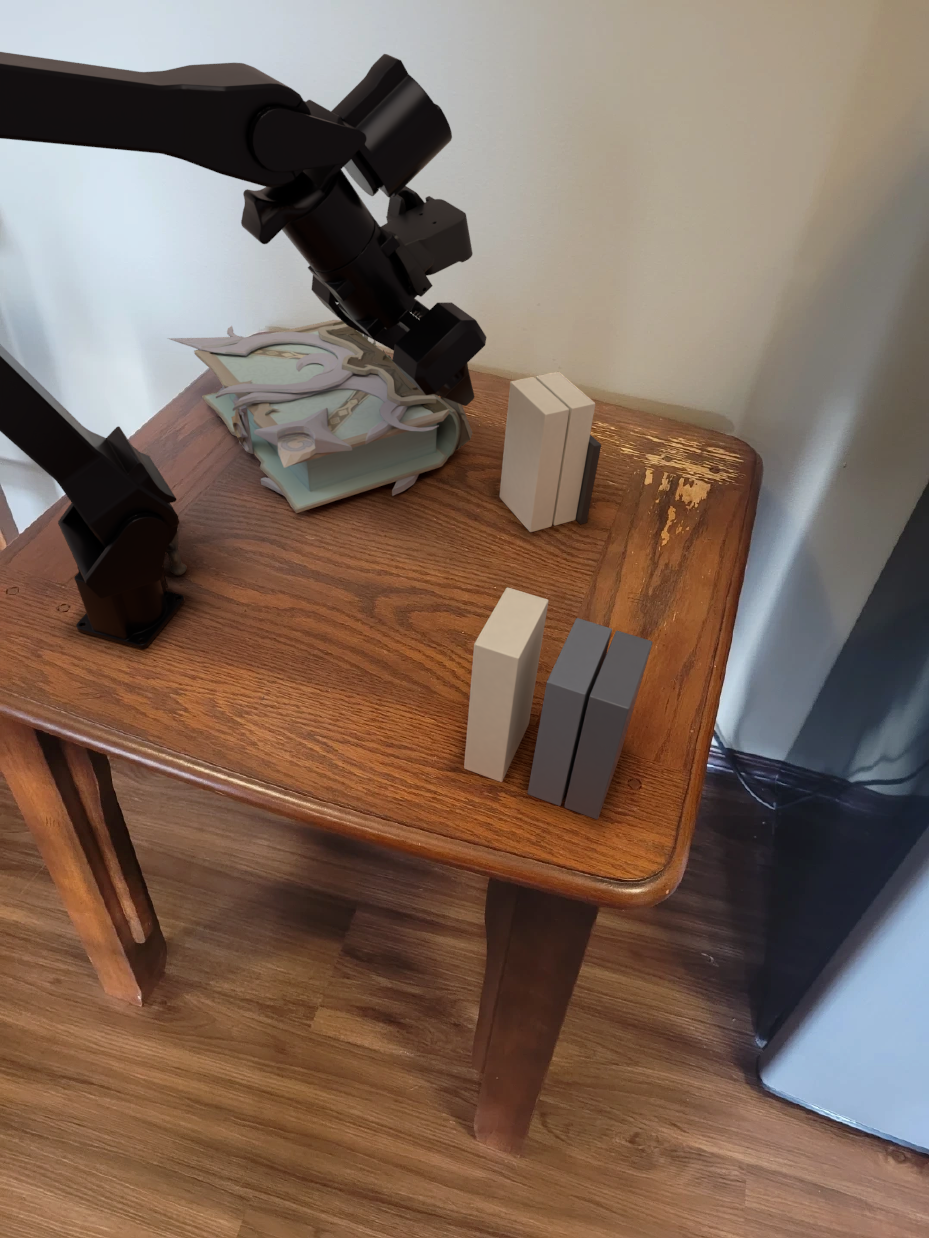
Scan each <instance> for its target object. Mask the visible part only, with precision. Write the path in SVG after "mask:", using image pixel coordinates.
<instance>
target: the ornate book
mask: <svg viewBox="0 0 929 1238" xmlns="http://www.w3.org/2000/svg"><path fill="white" fill-rule="evenodd" d="M226 334H227V335H228V336H217V337H171V338H169V337H168V338H166V339H167V340H170V341H172V342H175V343H178V344H181V345H185V346H187V347H190V348H194V349H195V350H193V353H194V356H196V357H197V358H198V359H199V360H200V361H201V362H202V363H203V364H204V365H205V366H207V368H209V370H211V371H212V373H213V374H214V375H215V377H216V378H217V379H218V381H219V382H220V384H221V385H222V386H221V387H220V388H219V389H218V391H216V392H212V393H208V394H203V395H202V396H201V397H202V398H201V399H202V400H203V401H204V402H205V403H206V404H207V405H208V406H209V407H210V408H211V409H212V410H213V411H214V412H215V413H216V414H217V415H218V417H220V418H221V419H222V422H223V423H224V424H225V426H226V428H227V429H228V430H229V432H230V434H231V435H232V436H235V437H237V440H238V443H239V444H240V445H241V447H242V449H244V451H246V453H249V454H251V455H254V456H255V457H256V458H257V460H258V461H259V462H260V465H259V469H260V470H261V472H262V473H264V474H265V475H266V476H267V477H265V476H264V477H262V478H260V485H261V486H263V487H265V488H269V489H270V490H271V491H275V492H276V493H278V494H280V495H281V496H283V497H285V499H286V500H287V502H288V503H289V505H290V507H291V508H292V510H293V511H294V512H295V514H298V513H301V512H304V511H308V510H310V509H314V508H316V507H320V506H323V505H326V504H329V503H333V502H335V501H339V500H341V499H345V498H348V497H351V496H354V495H358V494H360V493H364V492H367V491H370V490H373V489H376V488H379V487H381V486H385V485H386V486H387V485H388V484H392V483H394V482H395V484H394V486H393V488H392V489H391V496H392V497H393V496H395V495H398V494H400V493H403V492H405V491H406V490H407V489H409V488H410V487H412V486H414V485H415V483H416V481H417V479H418V477H419V475H420V474H423V473H425V472H429V471H432V470H435V469H438V468H441V467H443V466H444V465H445V463H446V462H447V461H448V459H449V458H450V456H453V454H454V453H455V452H456V451H458V450H459V449H461V447H464V446H465V445H466V444H467V443H469V441H471V439H472V436H473V429H472V428H471V425H470V422H469V419H468V417H467V414H466V411H465V409H464V406H463V405H461V404H458V403H456V402H453V401H451V400H448V399H446V398H443V397H440V396H438V395H435V394H431V395H427V396H426V395H425V394H424V393H423V392H422V391H421V390H420V389H418V388H417V387H416V386H415V385H414V384H413V383H412V382H410V381H409V380H408V379H407V378H406V376H405V375H404V374H403V373H402V372H401V371H400V370H399V369H398V367H397V366H396V365H395V364H394V362H393V361H392V360H393V358H392V357H391V355H389V354H386V352H385V349H383V350H382V349H381V348H380V347H378V346H377V343H376V342H377V341H375V340H373V341H372V342H371V341H369V337H368V336H366V335H364V334H362V333H360V332H358V331H357V330H355V329H353V328H351V327H349V326H348V325H346V324H345V323H344V322H343V321H342V320H341V319H331V320H327V321H322V322H321V321H320V322H317V323H313V324H308V325H303V326H299V327H294V328H290V329H286V330H285V329H284V330H279V331H275V332H270V333H263V334H257V335H252V336H251V335H250V336H245V337H244V336H240V335H237V334H235V332H234V328H233V325H231V326H229V327H228V328H227V330H226Z"/></svg>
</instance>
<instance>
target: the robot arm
mask: <svg viewBox="0 0 929 1238" xmlns="http://www.w3.org/2000/svg"><path fill="white" fill-rule="evenodd" d="M0 139H2V140H14V141H22V142H23V141H24V142H35V143H45V144H55V145H67V146H76V147H88V148H98V149H109V150H119V151H129V152H141V153H149V154H159V155H160V154H161V155H164V156H169V157H172V158H176V159H179V160H181V161H185V162H187V163H190V164H193V165H196V166H198V167H201V168H204V169H206V170H208V171H212V172H215V173H217V174H220V175H223V176H227V177H230V178H234V179H237V180H241V181H244V182H248V183H251V184H255V185H258V186H262V187H263V188H261V189H258V190H252V189H244V191H243V193H242V194H243V199H244V206H243V209H242V213H241V214H242V215H241V220H240V223H241V227H242V228H243V229H244V230H245V231H247V232H248V233H249V234H250V235H251V236H252V237H253V238H254V239H255V240H257V241H258V242H259V243H261V244H262V245H268V244H269V243H270V242H271V241H272V240H273V239H274V238H275V237H276V236H277V235H278V234H279V233H280V232H283V234H285V236H286V237H287V238H288V239H289V241H290V242H291V244H292V245H293V246H294V247H295V248H296V250H297V251H298V252H299V254H300V255H301V257H303V259H304V260H305V261H306V263H308V265H309V266H308V267H307V269H308V270H309V271H310V273H311V274H312V280H311V291H312V292H313V294H314V295H315V296H316V297H317V298H318V299H319V301H320V302H321V303H322V304H323V306H325V308H327V309H328V310H329V311H331V313H332V314H333V315H334V316H336V317H337V318H338V320H342V321H343V322H344V323H345V324H346V325H348V326H349V327H351V328H353V329H355V330H356V331H358V332H360V333H362V334H364V335H366V336H368V338H369V339H371V340H373V341H374V340H375V341H376V342H377V343H379V344H381V345H382V346H384V347H386V348H388V349H390V350H392V351H393V354H392V361H393V362H394V364H395V365H396V366H397V367H398V369H399V370H400V371H401V372H402V373H403V374H404V375H405V376H406V378H407V379H408V380H409V381H410V382H412V383H413V384H414V385H415V386H416V387H417V388H418V389H420V390H421V391H422V392H423V393H424V394H425V395H426V396H427V395H431V394H435V395H438V396H439V397H443V398H446V399H448V400H451V401H453V402H456V403H458V404H461V405H462V406H463V407H466V406H468V405H469V404H470V403H471V402H473V400H475V393H474V388H473V383H472V379H471V374H470V370H469V364H468V363H469V362H470V361H471V360H472V359H473V358H474V357H475V356H476V355H477V354H478V353H479V352H480V351H481V350H482V349H483V348H484V347H485V346H486V343H487V336H486V334H485V332H484V330H483V329H482V327H481V326H480V324H479V322H478V321H477V319H476V318H474V317H472V316H471V315H470V314H468V313H467V312H466V311H464V310H463V309H462V308H461V307H459V306H457V304H455V303H453V302H436V303H435V304H434V305H433V306H432V307H431V308H430V309H429V308H428V307H427V306H426V305H425V304H423V303H422V302H420V301H419V300H418V299H416V298H417V297H419V298H421V297H423V296H424V295H425V294H426V293H427V292H428V291H429V290H430V289H431V288H432V287H433V284H432V282H431V281H430V279H429V277H428V276H432V275H435V274H437V273H439V272H441V271H443V270H445V269H447V268H449V267H451V266H453V265H455V264H457V263H459V262H460V263H465V262H466V261H468V260H469V259H471V258H472V256H473V248H472V242H471V237H470V230H469V223H468V218H467V214H466V212H464V211H463V210H462V209H460V208H458V207H457V206H455V205H453V204H452V203H449V202H448V201H446V200H445V199H441V198H433V196H431V195H428V196H425V198H424V199H425V201H424V200H423V199H422V197H421V196H420V195H419V194H418V193H417V192H416V191H415V190H413V189H412V188H411V187H409V186H407V185H408V184H409V183H410V182H411V181H412V180H413V179H414V178H415V177H416V176H417V175H418V174H419V173H420V172H421V171H423V169H424V168H425V167H426V166H427V165H428V164H429V163H430V162H431V161H433V159H434V158H435V157H437V155H439V154H440V152H442V151H443V149H444V148H445V147H447V145H448V144H449V143H451V141H452V140H453V133H452V129H451V126H450V123H449V121H448V119H447V117H446V115H445V113H444V110H443V109H442V108H441V106H439V105H438V104H437V103H435V102H434V101H433V99H432V98H431V97H430V95H429V94H428V93H427V91H426V90H425V89H424V88H423V87H422V86H421V84H419V83H418V81H417V80H416V79H415V78H414V77H412V76H411V75H410V74H409V72H408V70H407V69H406V67H405V65H404V62H403V61H402V60H401V59H399V58H397V57H394V56H393V55H390V54H387V53H383V54H382V55H381V56H380V57H379V58H378V59H377V60H376V61H375V62H374V63H373V64H372V66H371V67H370V69H368V72H367V73H366V75H365V76H364V77H363V78H362V79H361V81H360V82H358V83H357V85H356V86H354V88H353V89H352V90H351V91H350V92H349V93H348V94H346V96H345V97H343V99H342V100H341V101H340V102H338V104H337V105H336V106H335V107H333V109H332V110H329V109H328V108H326V107H324V106H322V105H321V104H319V103H317V102H315V101H313V100H312V99H307V100H306V101H305V100H304V99H303V97H302V95H301V94H300V93H299V92H297V91H296V90H294V89H293V88H292V87H290V86H288V85H286V84H284V83H282V82H281V81H279V80H278V79H276V78H274V77H272V76H270V75H269V74H266V73H265V72H264V71H261V70H260V69H258V68H256V67H254V66H252V65H249V64H246V63H243V62H222V63H221V62H220V63H201V64H188V65H184V66H179V67H174V68H170V69H166V70H157V71H156V70H154V71H137V70H129V69H123V68H117V67H109V66H103V65H96V64H95V65H94V64H88V63H82V62H81V63H80V62H75V61H68V60H62V59H61V60H60V59H53V58H47V57H39V56H34V55H33V56H32V55H25V54H19V53H12V52H5V51H0ZM343 168H344V169H345V171H346V172H347V174H348V175H349V176H350V177H351V179H352V180H353V181H354V182H355V183H356V184H357V185H358V187H359V188H361V190H362V191H364V192H365V193H366V194H367V195H369V196H370V197H374V196H375V195H376V194H377V193H378V192H380V191H381V192H383V194H384V195H385V196H386V197H387V198H388V206H387V212H386V216H385V218H386V223H384V224H382V225H380V224H379V222H378V221H377V220H376V219H375V217H374V216H373V214H372V213H371V212H370V209H368V207H367V205H366V204H365V203H364V200H362V198H361V197H360V195H359V194H358V192H357V191H356V189H355V187H354V186H353V185H352V183H351V182H350V180H349V179H348V177H347V176H346V174H345V172H344V171H343V170H342V169H343ZM379 190H380V191H379ZM364 335H363V336H364ZM0 433H2V435H4V436H5V437H6V438H7V439H8V440H9V441H10V442H12V443H13V444H14V445H15V446H16V447H17V448H18V449H19V450H20V451H22V452H23V453H24V454H25V455H26V456H28V457H29V458H30V459H31V460H32V461H33V462H34V463H35V464H37V465H38V466H39V467H40V468H41V469H42V470H43V471H44V472H46V473H47V474H48V475H49V476H50V477H51V478H52V479H53V480H54V481H55V482H56V483H57V484H58V485H59V487H60V488H61V489H62V491H63V492H64V494H65V495H66V496H67V498H68V499H69V501H70V502H71V503H70V504H69V505H68V507H67V508H66V510H65V511H64V512H63V514H62V515H61V517H60V518H59V520H57V525H58V527H59V529H60V531H61V533H62V535H63V537H64V540H65V541H66V544H67V547H68V549H69V551H70V552H71V555H72V557H73V559H74V561H75V564H76V565H77V570H78V573H76V575H75V576H74V577H73V578H74V581H75V584H76V587H77V590H78V592H79V593H78V594H79V595H80V598H81V601H82V603H83V606H84V609H85V612H86V613H85V614H84V615H83V616H82V617H81V618H80V619H79V621H78V622H77V623H76V629H77V631H78V632H79V633H83V634H87V635H90V636H93V637H96V638H100V639H104V640H108V641H111V642H115V643H118V644H122V645H126V646H129V647H133V648H136V649H141V650H142V649H146V648H147V647H149V645H150V644H151V643H152V642H153V641H154V640H155V638H156V637H157V636H158V635H159V633H160V632H161V631H162V630H163V629H164V628H165V626H166V625H167V624H168V623H169V622H170V620H171V619H172V618H173V617H174V616H175V614H176V613H177V612H178V611H179V609H180V608H181V607H182V606H183V605H184V603H185V602H186V601H185V596H184V595H183V594H181V593H177V592H173V591H169V590H168V588H169V584H168V580H167V577H166V573H165V569H164V563H165V559H166V554H167V553H166V549H167V546H168V545H169V544H170V543H171V542H172V541H173V539H174V537H175V535H176V533H177V531H178V528H179V525H180V518H179V515H178V514H177V512H176V510H175V508H174V507H173V505H172V504H173V503H175V502H177V497H176V496H175V494H174V492H173V491H172V490H171V488H170V486H169V485H168V483H167V481H166V480H165V478H164V477H163V475H162V473H161V472H160V470H159V469H158V467H157V465H156V464H155V463H154V461H153V459H152V458H151V456H150V455H148V454H146V453H144V452H142V451H139V450H138V449H137V448H136V447H134V445H132V443H131V442H130V440H129V439H128V437H127V435H126V434H125V433H124V430H122V428H121V427H120V426H116V427H115V428H114V429H113V430H112V431H111V432H110V433H109V435H107V436H106V437H105V436H103V435H100V434H98V433H95V432H93V431H91V430H89V429H88V428H86V427H85V426H84V425H83V424H81V422H79V420H78V419H76V417H75V416H74V415H72V413H70V412H69V410H68V409H67V408H66V407H64V406H63V404H61V402H60V401H58V399H56V398H55V397H54V396H53V394H52V393H51V392H50V391H48V390H47V388H45V387H44V386H43V385H42V384H41V383H40V382H39V381H38V379H36V378H35V377H34V376H33V375H32V374H31V373H30V372H29V371H28V370H27V369H26V367H24V366H23V365H22V364H21V363H20V362H19V361H18V360H17V359H16V358H15V357H14V356H13V355H12V354H11V353H10V352H9V351H8V350H7V349H6V348H5V347H4V346H3V345H2V344H1V343H0Z"/></svg>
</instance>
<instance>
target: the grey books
mask: <svg viewBox="0 0 929 1238" xmlns="http://www.w3.org/2000/svg"><path fill="white" fill-rule="evenodd" d="M612 632H613V628H612V627H607V626H605V625H601V624H598V623H595V622H593V621H589V620H586V619H582V618H579V617H576V618H575V620H574V621H573V624H572V626H571V629H570V631H569V632H568V635H567V638H566V639H565V641H564V644H563V646H562V648H561V650H560V653H559V654H558V657H557V659H556V661H555V663H554V666H553V667H552V670H551V672H550V674H549V675H548V678H547V680H546V685H545V690H544V696H543V702H542V707H541V713H540V718H539V724H538V730H537V736H536V742H535V747H534V753H533V760H532V765H531V771H530V777H529V781H528V782H529V784H528V788H527V795H529V796H531V797H534V798H536V799H539V800H541V801H545V802H548V803H550V804H553V805H555V806H558V807H561V806H562V803H563V801H565V802H564V807H563V808H565V809H567V810H570V811H572V812H576V813H578V814H580V815H583V816H586V817H589V818H591V819H594V820H598V819H599V818H600V815H601V813H602V810H603V807H604V803H605V801H606V798H607V795H608V791H609V789H610V786H611V783H612V780H613V777H614V774H615V773H616V769H617V767H618V766H617V765H618V762H619V760H620V757H621V754H622V752H623V747H624V743H625V740H626V737H627V733H628V730H629V727H630V722H631V719H632V716H633V712H634V710H635V706H636V702H637V699H638V696H639V692H640V688H641V684H642V681H643V678H644V674H645V671H646V667H647V663H648V661H649V657H650V654H651V650H652V646H653V643H654V642H653V640H650V639H646V638H643V637H640V636H637V635H634V634H630V633H627V632H623V631H620V630H616V631H615V632H614V634H613V637H612V640H611V636H612ZM610 641H611V642H610ZM565 796H566V797H565ZM564 798H565V800H564Z"/></svg>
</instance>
